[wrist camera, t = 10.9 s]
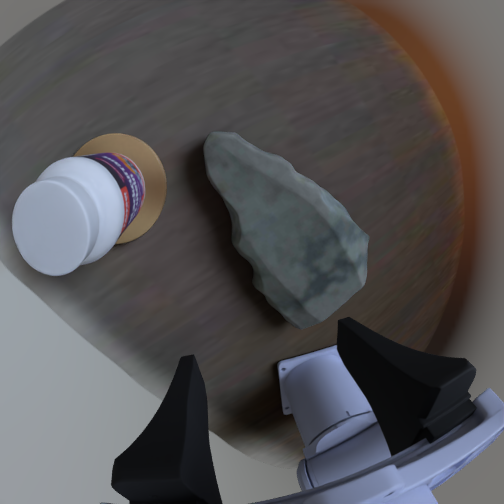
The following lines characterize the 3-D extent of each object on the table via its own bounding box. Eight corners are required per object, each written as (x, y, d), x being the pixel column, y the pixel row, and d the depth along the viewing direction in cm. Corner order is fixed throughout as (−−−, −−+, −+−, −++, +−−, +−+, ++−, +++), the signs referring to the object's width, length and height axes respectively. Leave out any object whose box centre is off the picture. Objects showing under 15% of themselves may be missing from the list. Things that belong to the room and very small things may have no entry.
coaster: (177, 228, 21) (176, 231, 20) (82, 250, 20) (79, 254, 19) (156, 121, 18) (154, 120, 17) (58, 151, 17) (53, 152, 16)
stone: (158, 168, 17) (290, 83, 16) (166, 165, 20) (279, 92, 19) (295, 345, 23) (392, 278, 22) (286, 324, 26) (374, 263, 25)
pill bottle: (159, 207, 19) (130, 264, 10) (96, 238, 19) (38, 308, 10) (128, 137, 17) (70, 135, 8) (66, 173, 17) (-17, 203, 8)
